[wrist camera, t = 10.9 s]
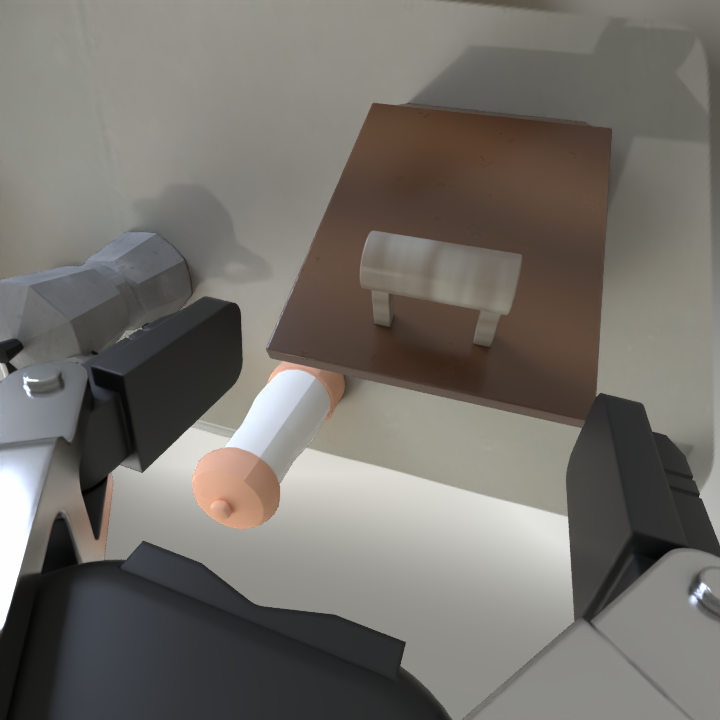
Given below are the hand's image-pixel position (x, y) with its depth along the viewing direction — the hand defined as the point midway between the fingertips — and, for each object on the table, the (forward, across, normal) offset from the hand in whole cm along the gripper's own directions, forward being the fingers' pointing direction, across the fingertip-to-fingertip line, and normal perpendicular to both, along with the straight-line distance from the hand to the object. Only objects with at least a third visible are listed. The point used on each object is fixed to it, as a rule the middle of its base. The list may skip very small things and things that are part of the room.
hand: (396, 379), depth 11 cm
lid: (+14, +1, +1) cm, 14 cm away
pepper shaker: (+30, +14, +22) cm, 40 cm away
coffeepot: (+30, +31, +14) cm, 45 cm away
